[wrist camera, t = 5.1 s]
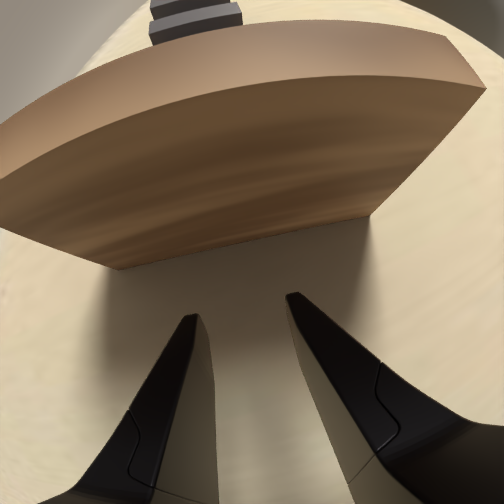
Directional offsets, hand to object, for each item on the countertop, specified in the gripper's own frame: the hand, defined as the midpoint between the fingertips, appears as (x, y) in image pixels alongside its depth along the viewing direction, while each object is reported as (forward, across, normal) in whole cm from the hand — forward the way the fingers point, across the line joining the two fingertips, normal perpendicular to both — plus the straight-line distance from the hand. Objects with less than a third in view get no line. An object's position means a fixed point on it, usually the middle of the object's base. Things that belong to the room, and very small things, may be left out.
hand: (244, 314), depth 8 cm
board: (+9, 0, +2) cm, 9 cm away
